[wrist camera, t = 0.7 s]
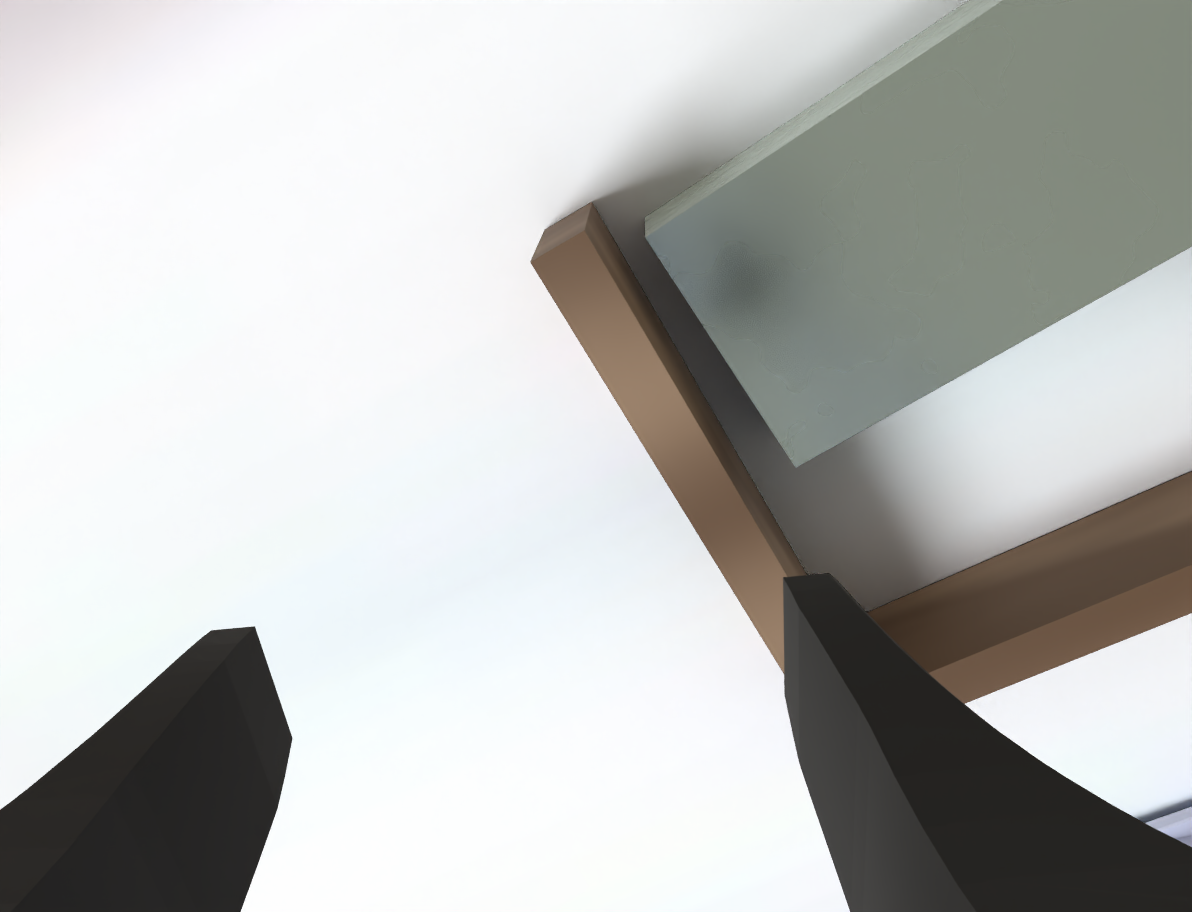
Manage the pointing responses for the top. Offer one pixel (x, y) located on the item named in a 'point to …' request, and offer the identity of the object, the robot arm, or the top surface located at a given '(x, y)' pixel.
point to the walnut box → (763, 555)
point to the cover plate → (940, 208)
